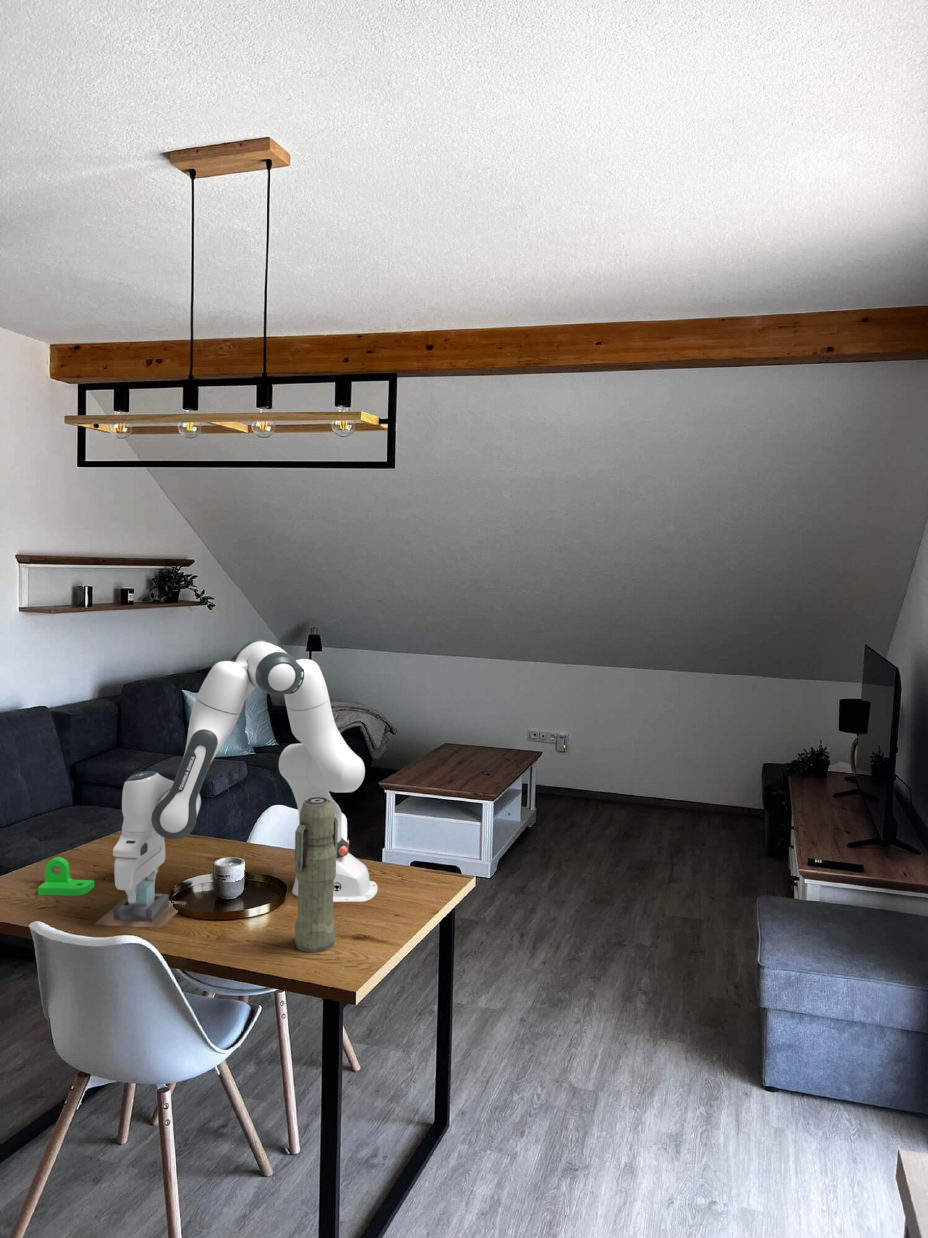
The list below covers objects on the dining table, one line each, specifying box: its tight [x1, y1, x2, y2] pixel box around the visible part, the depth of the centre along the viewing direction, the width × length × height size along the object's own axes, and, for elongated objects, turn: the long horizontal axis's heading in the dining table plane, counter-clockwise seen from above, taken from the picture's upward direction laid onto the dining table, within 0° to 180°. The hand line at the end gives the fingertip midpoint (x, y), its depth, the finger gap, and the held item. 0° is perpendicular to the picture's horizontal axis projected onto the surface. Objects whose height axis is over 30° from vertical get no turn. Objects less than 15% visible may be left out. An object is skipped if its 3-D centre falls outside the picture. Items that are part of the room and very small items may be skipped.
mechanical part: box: [37, 856, 95, 897], centre depth 236 cm, size 12×6×8 cm, turn 90°
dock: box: [93, 893, 187, 928], centre depth 221 cm, size 16×16×4 cm
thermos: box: [294, 797, 338, 953], centre depth 204 cm, size 9×12×35 cm
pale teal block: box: [128, 881, 156, 907], centre depth 221 cm, size 4×4×7 cm
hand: (141, 894), depth 221 cm, fingers open, 8 cm apart
